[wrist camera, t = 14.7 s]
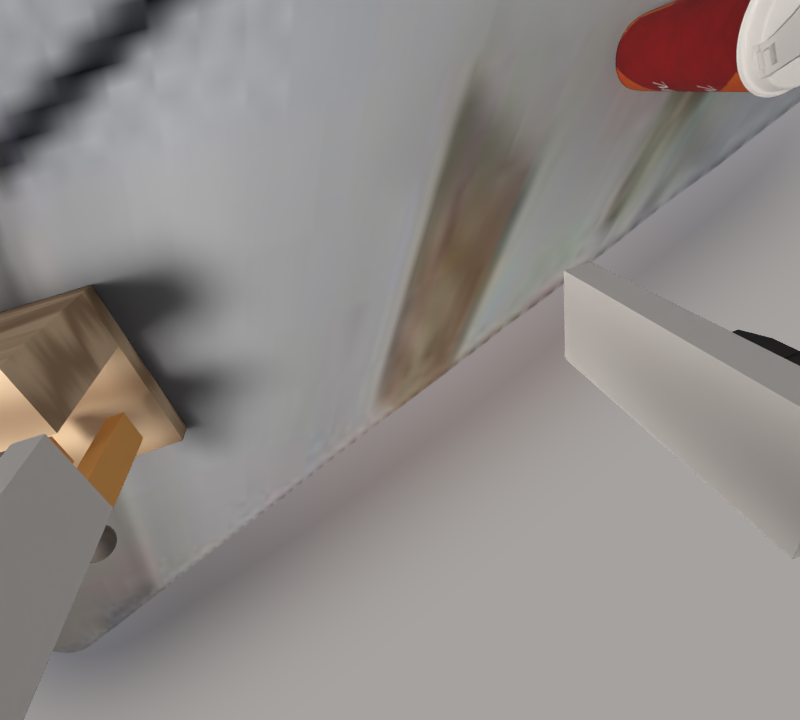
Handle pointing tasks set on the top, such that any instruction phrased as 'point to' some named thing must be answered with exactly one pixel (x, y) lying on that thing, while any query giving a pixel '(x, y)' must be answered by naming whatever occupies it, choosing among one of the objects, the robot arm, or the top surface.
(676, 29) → the paper cup
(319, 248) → the top surface
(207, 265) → the top surface
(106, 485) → the orange u-shaped bracket
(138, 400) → the wooden l-shaped stand
